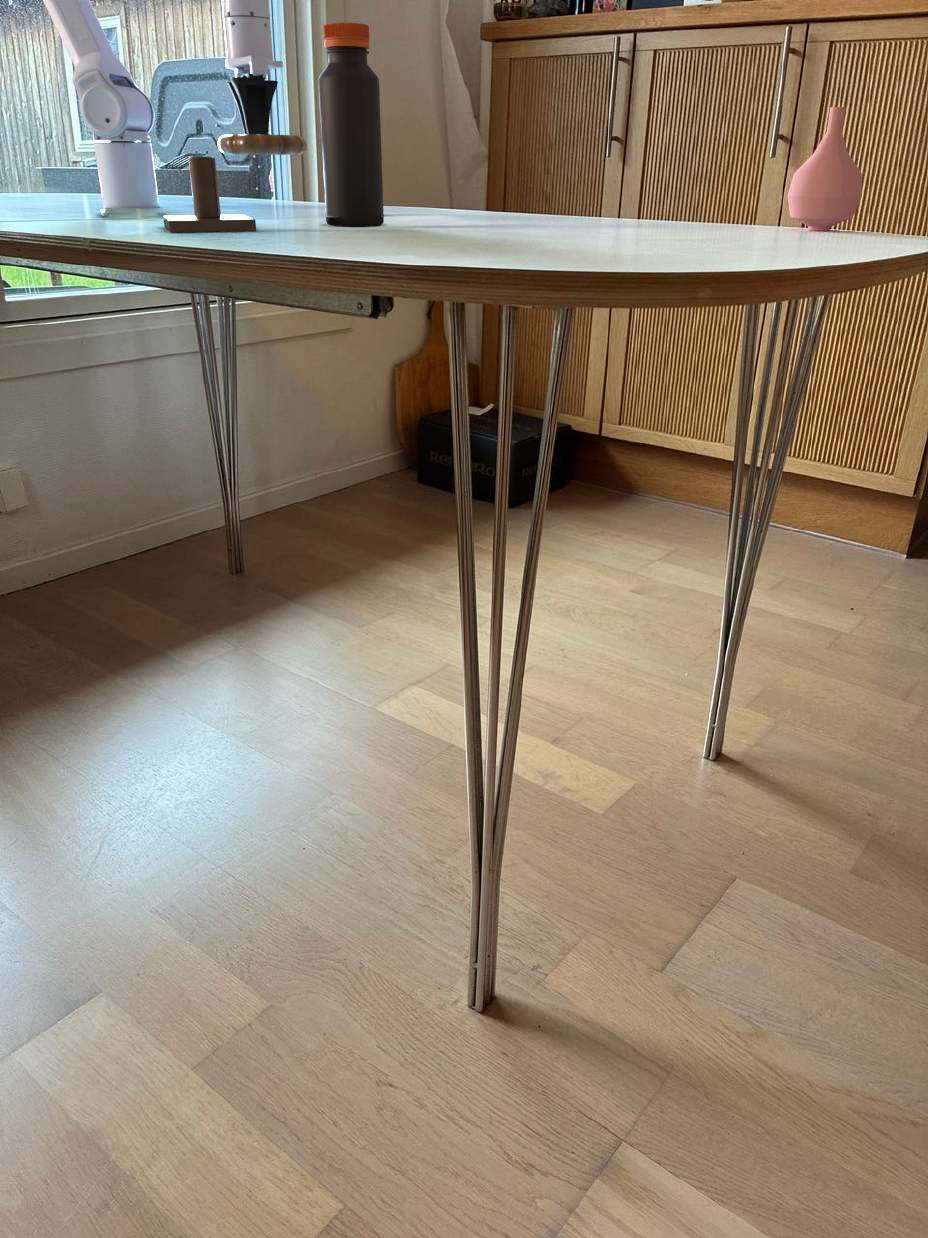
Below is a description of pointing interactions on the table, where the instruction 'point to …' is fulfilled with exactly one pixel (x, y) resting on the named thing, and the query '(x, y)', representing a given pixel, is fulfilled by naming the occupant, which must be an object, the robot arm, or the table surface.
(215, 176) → the wooden peg stand
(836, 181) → the pink vase
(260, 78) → the robot arm
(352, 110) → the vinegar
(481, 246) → the table surface
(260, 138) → the scalloped wooden ring
